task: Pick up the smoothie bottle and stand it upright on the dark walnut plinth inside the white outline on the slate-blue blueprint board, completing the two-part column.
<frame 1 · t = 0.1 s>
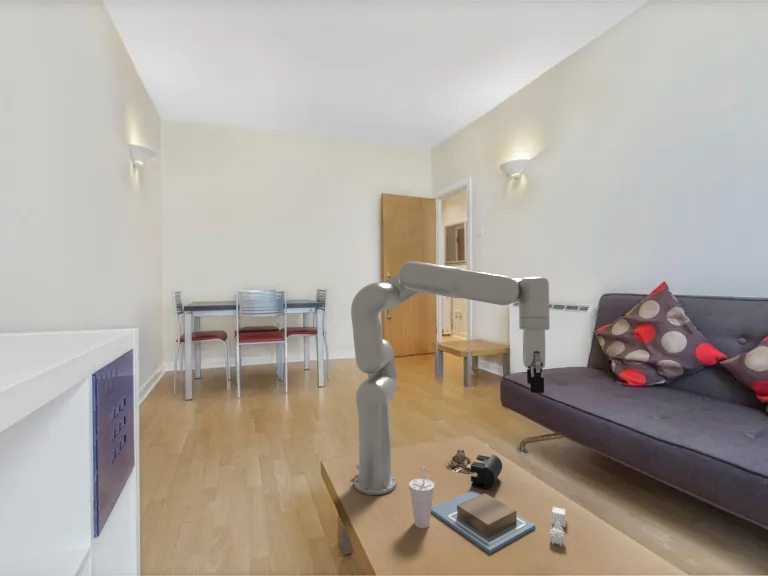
hand: (535, 388, 104), 31 cm above the table, tool pointing down, fingers open, 9 cm apart
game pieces: (558, 534, 92), on the table
plinth: (486, 523, 96), resting on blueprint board
smoothie: (422, 524, 96), on the table
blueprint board: (480, 519, 97), on the table
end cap: (486, 483, 116), on the table
frog figurine: (460, 467, 128), on the table
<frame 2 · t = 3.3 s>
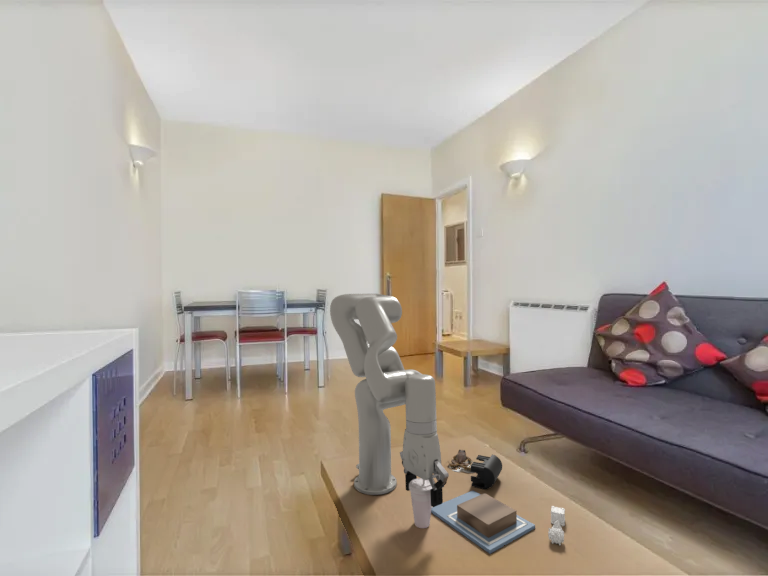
hand: (423, 496, 95), 7 cm above the table, tool pointing down, fingers open, 9 cm apart
nothing on the table moved.
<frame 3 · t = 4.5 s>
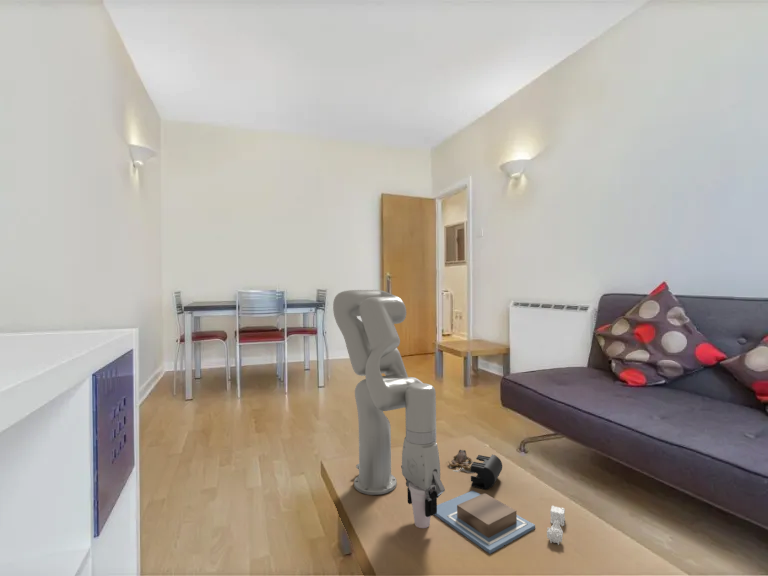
hand: (421, 507, 96), 4 cm above the table, tool pointing down, fingers closed on smoothie, 6 cm apart
smoothie: (422, 524, 96), on the table, touching gripper
everything else where it was.
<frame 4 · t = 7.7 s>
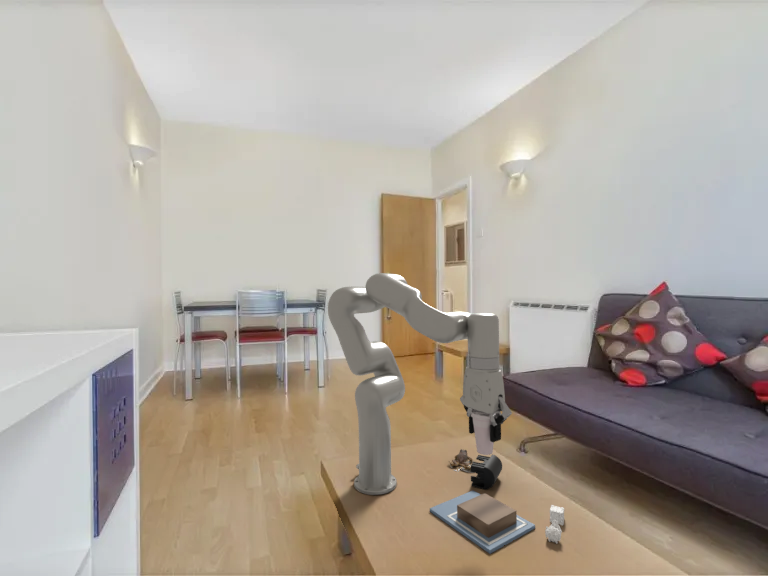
hand: (484, 435, 96), 21 cm above the table, tool pointing down, fingers closed on smoothie, 6 cm apart
smoothie: (484, 452, 96), point 17 cm above the table, touching gripper
everything else where it was.
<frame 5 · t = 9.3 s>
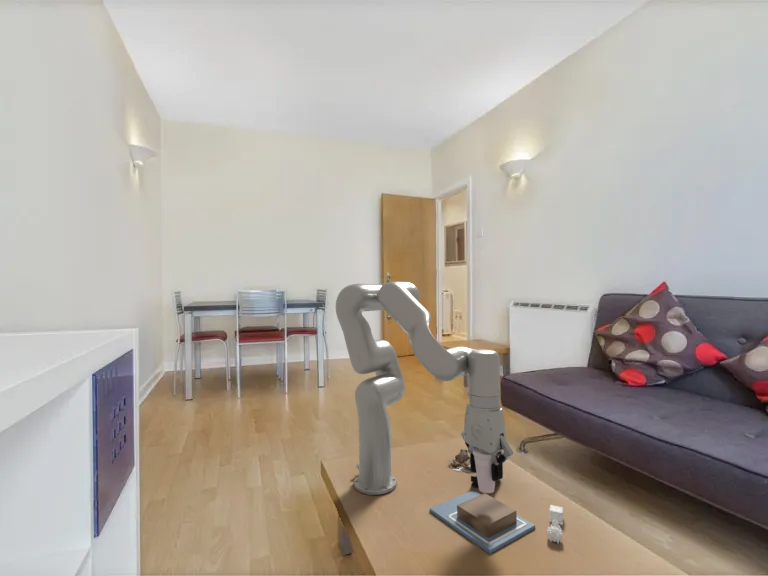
hand: (486, 473, 96), 12 cm above the table, tool pointing down, fingers closed on smoothie, 6 cm apart
smoothie: (486, 490, 96), point 8 cm above the table, touching gripper
everything else where it was.
when the fingers open (9 cm above the table, at t = 10.9 s): smoothie drops 1 cm, resting on plinth.
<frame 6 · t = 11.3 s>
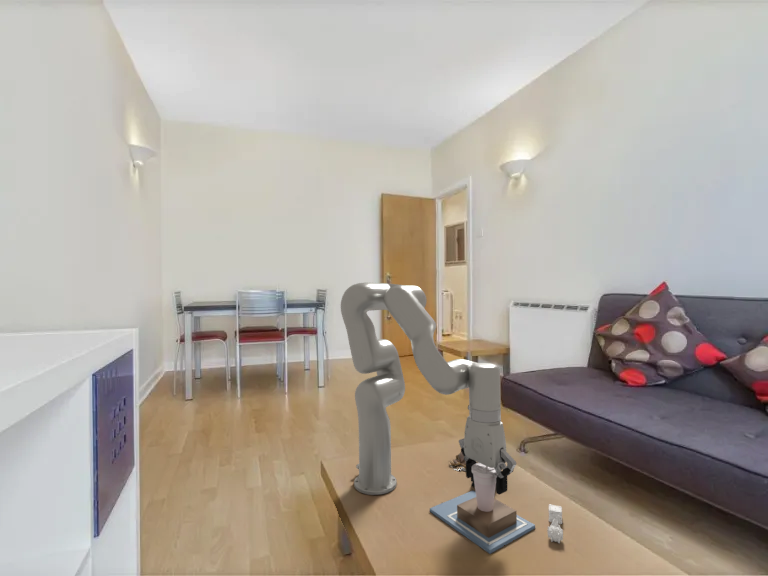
hand: (486, 484, 96), 10 cm above the table, tool pointing down, fingers open, 9 cm apart
smoothie: (485, 508, 96), point 4 cm above the table, touching plinth
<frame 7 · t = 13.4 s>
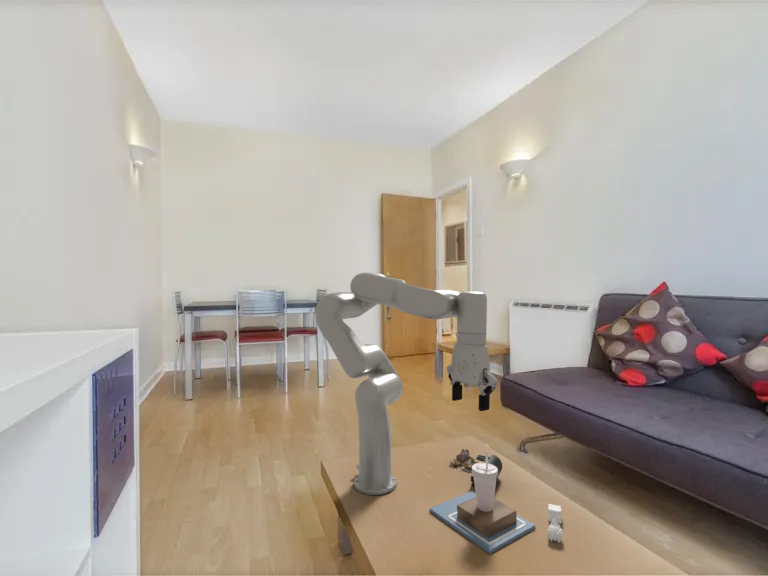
hand: (469, 404, 101), 28 cm above the table, tool pointing down, fingers open, 9 cm apart
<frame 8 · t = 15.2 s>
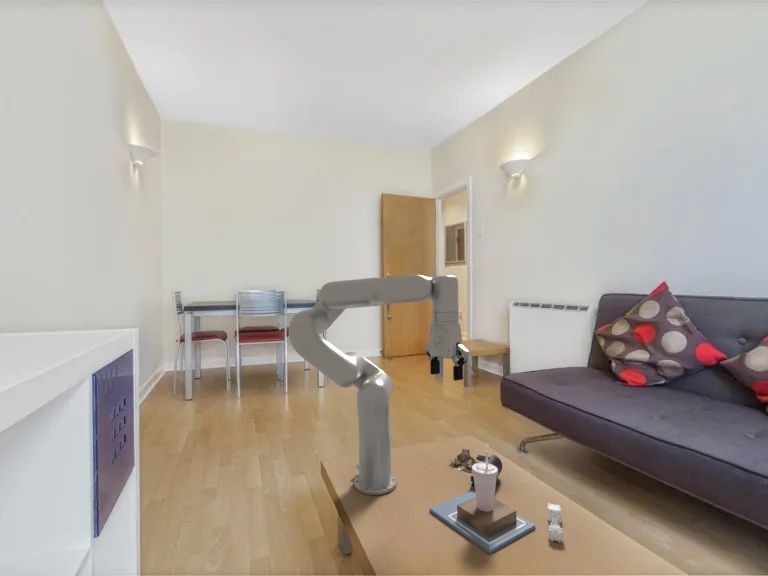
hand: (446, 376, 113), 32 cm above the table, tool pointing down, fingers open, 9 cm apart
at the end: smoothie 0.3 cm off-centre on the plinth, point 3.6 cm above the plinth's base; smoothie tilted 0°; the gripper is holding nothing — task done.
